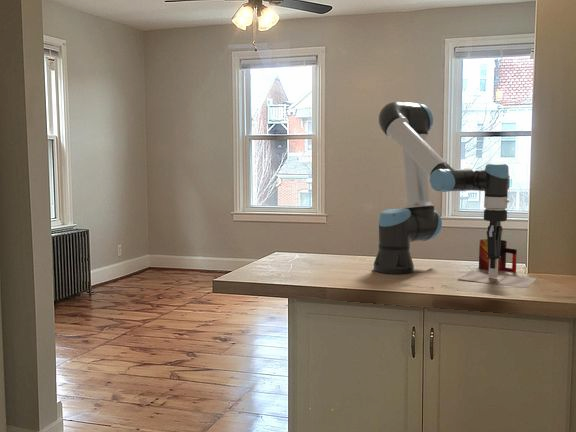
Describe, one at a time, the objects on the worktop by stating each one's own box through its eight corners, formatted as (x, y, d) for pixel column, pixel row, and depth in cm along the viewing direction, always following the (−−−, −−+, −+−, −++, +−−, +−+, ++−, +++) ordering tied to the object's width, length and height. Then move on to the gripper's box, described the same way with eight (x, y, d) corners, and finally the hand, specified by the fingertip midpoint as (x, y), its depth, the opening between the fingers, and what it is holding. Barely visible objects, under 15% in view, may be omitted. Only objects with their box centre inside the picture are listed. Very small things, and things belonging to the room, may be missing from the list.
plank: (457, 282, 206) (458, 278, 206) (471, 273, 222) (472, 270, 222) (494, 287, 200) (494, 284, 200) (505, 278, 216) (506, 275, 215)
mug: (515, 276, 221) (516, 244, 220) (476, 273, 227) (477, 241, 226) (518, 272, 230) (520, 240, 228) (480, 269, 236) (482, 238, 235)
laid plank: (495, 287, 200) (495, 284, 200) (506, 278, 215) (506, 275, 215) (527, 291, 195) (527, 287, 195) (536, 281, 210) (537, 278, 210)
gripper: (502, 211, 199) (500, 281, 202) (511, 208, 210) (508, 275, 213) (479, 209, 203) (477, 279, 205) (488, 207, 214) (486, 273, 217)
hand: (493, 277), depth 209 cm, fingers closed
